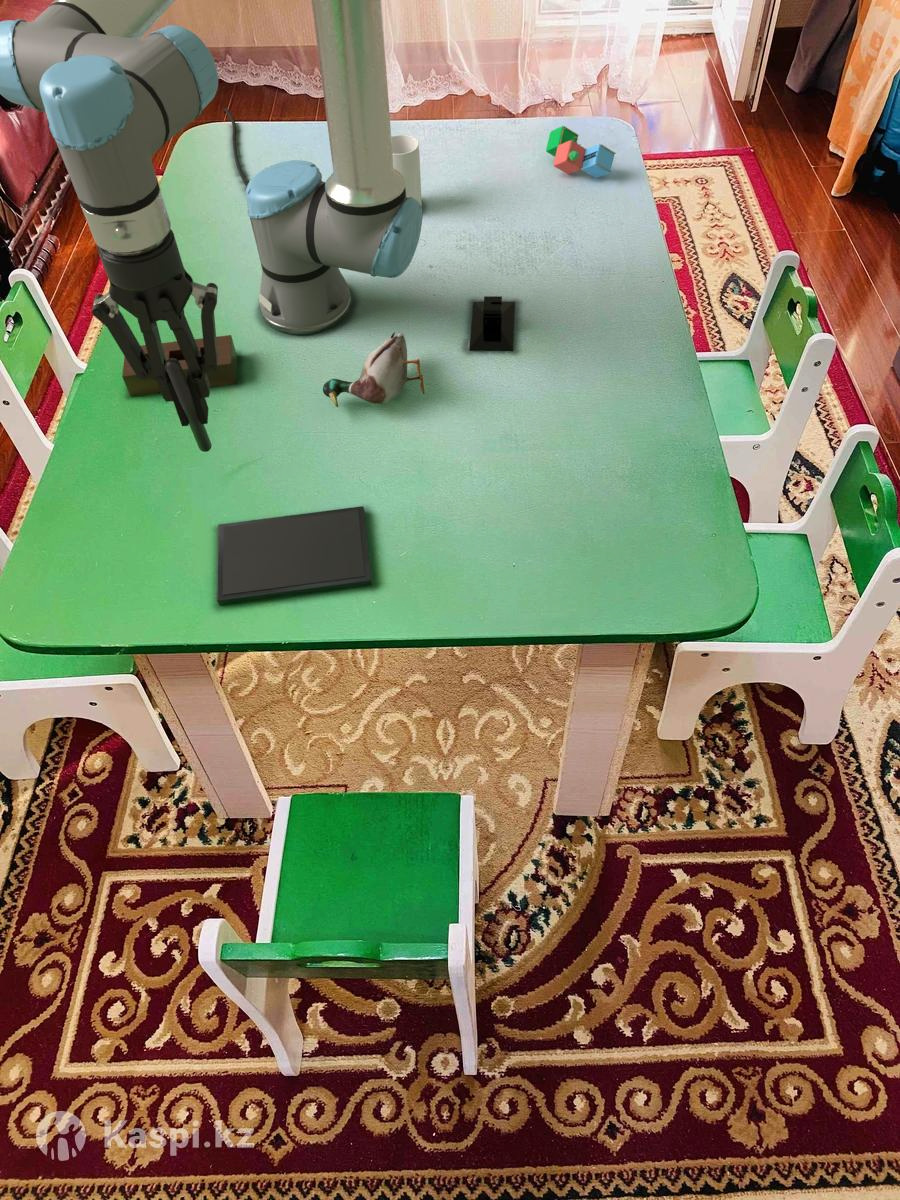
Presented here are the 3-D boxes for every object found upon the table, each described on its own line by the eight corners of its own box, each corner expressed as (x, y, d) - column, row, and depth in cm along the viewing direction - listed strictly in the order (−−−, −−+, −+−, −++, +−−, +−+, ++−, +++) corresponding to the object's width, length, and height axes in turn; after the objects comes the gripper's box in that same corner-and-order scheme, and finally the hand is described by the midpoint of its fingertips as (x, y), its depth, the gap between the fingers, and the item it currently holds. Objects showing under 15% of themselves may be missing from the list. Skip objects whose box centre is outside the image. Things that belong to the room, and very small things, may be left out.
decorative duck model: (313, 388, 134) (324, 319, 142) (326, 425, 140) (335, 357, 148) (415, 379, 132) (420, 310, 140) (424, 417, 138) (427, 348, 146)
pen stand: (133, 367, 148) (125, 347, 144) (236, 355, 148) (231, 334, 145) (130, 396, 144) (121, 376, 140) (236, 383, 144) (230, 363, 141)
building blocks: (570, 188, 182) (611, 173, 171) (539, 170, 177) (578, 154, 167) (580, 149, 181) (621, 132, 171) (548, 130, 177) (589, 111, 167)
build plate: (513, 352, 146) (513, 328, 143) (467, 351, 147) (466, 328, 143) (515, 303, 154) (515, 279, 150) (471, 302, 154) (470, 279, 150)
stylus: (200, 444, 114) (163, 355, 100) (213, 443, 114) (178, 354, 100) (199, 455, 113) (163, 366, 100) (212, 453, 113) (177, 365, 100)
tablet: (220, 530, 127) (217, 523, 126) (364, 511, 128) (363, 505, 127) (218, 605, 119) (216, 600, 118) (372, 585, 120) (371, 579, 119)
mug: (416, 194, 174) (412, 131, 164) (427, 213, 170) (423, 149, 160) (365, 206, 172) (358, 143, 163) (375, 225, 169) (368, 161, 159)
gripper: (53, 265, 88) (130, 445, 107) (207, 250, 89) (256, 432, 107) (64, 222, 92) (136, 402, 111) (209, 208, 93) (256, 390, 112)
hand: (195, 417), depth 109 cm, fingers closed on stylus, 1 cm apart
